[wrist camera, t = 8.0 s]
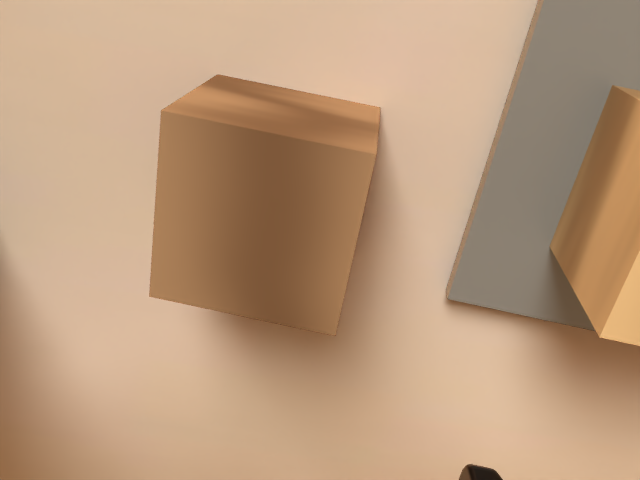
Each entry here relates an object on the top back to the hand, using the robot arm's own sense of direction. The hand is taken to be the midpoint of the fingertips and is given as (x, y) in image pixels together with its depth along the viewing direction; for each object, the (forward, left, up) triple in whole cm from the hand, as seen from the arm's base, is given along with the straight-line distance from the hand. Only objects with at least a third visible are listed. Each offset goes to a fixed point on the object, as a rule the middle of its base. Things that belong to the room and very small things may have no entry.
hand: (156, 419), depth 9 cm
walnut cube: (0, 0, -12) cm, 12 cm away
